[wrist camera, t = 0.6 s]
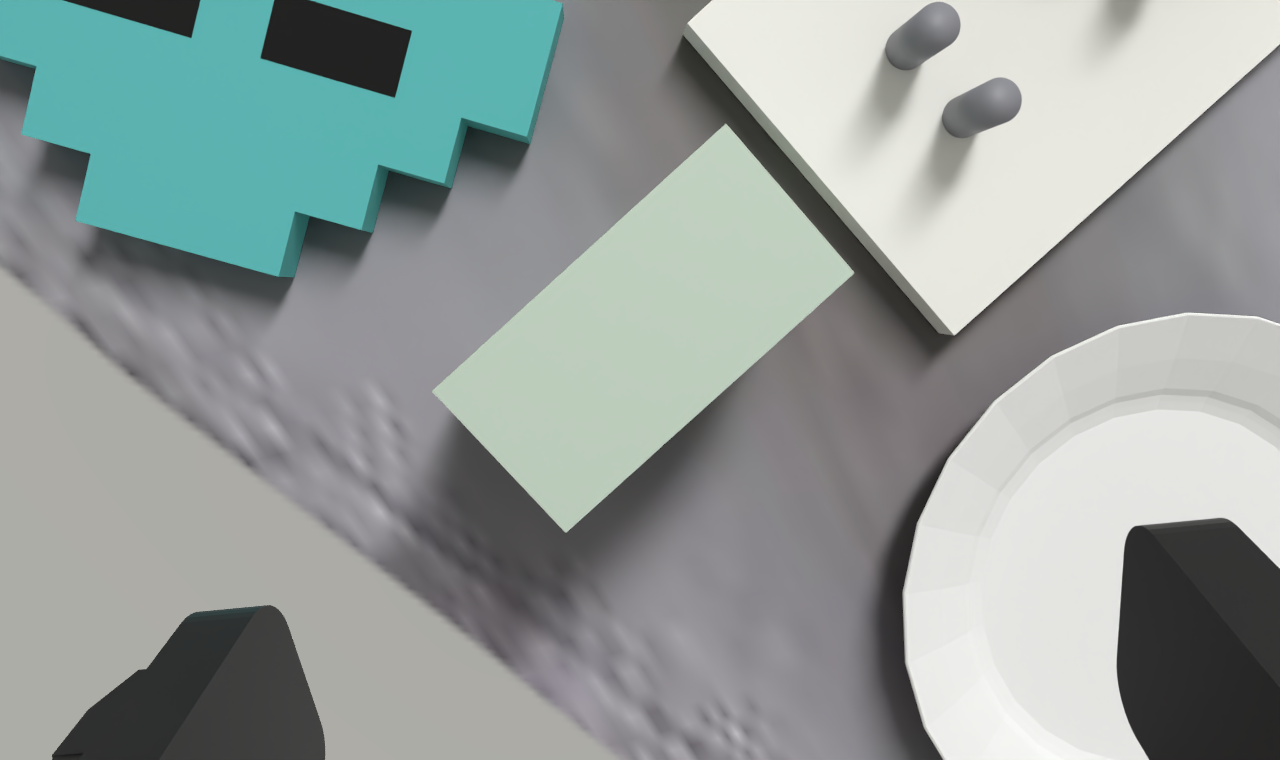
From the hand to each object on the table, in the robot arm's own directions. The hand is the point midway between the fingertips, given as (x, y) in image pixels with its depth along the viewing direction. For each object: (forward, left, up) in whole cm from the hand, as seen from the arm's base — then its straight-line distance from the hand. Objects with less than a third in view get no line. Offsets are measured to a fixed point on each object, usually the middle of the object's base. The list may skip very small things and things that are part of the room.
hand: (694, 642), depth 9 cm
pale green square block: (-1, +2, -26) cm, 26 cm away
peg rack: (0, +19, -26) cm, 32 cm away
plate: (+20, +10, -26) cm, 34 cm away
